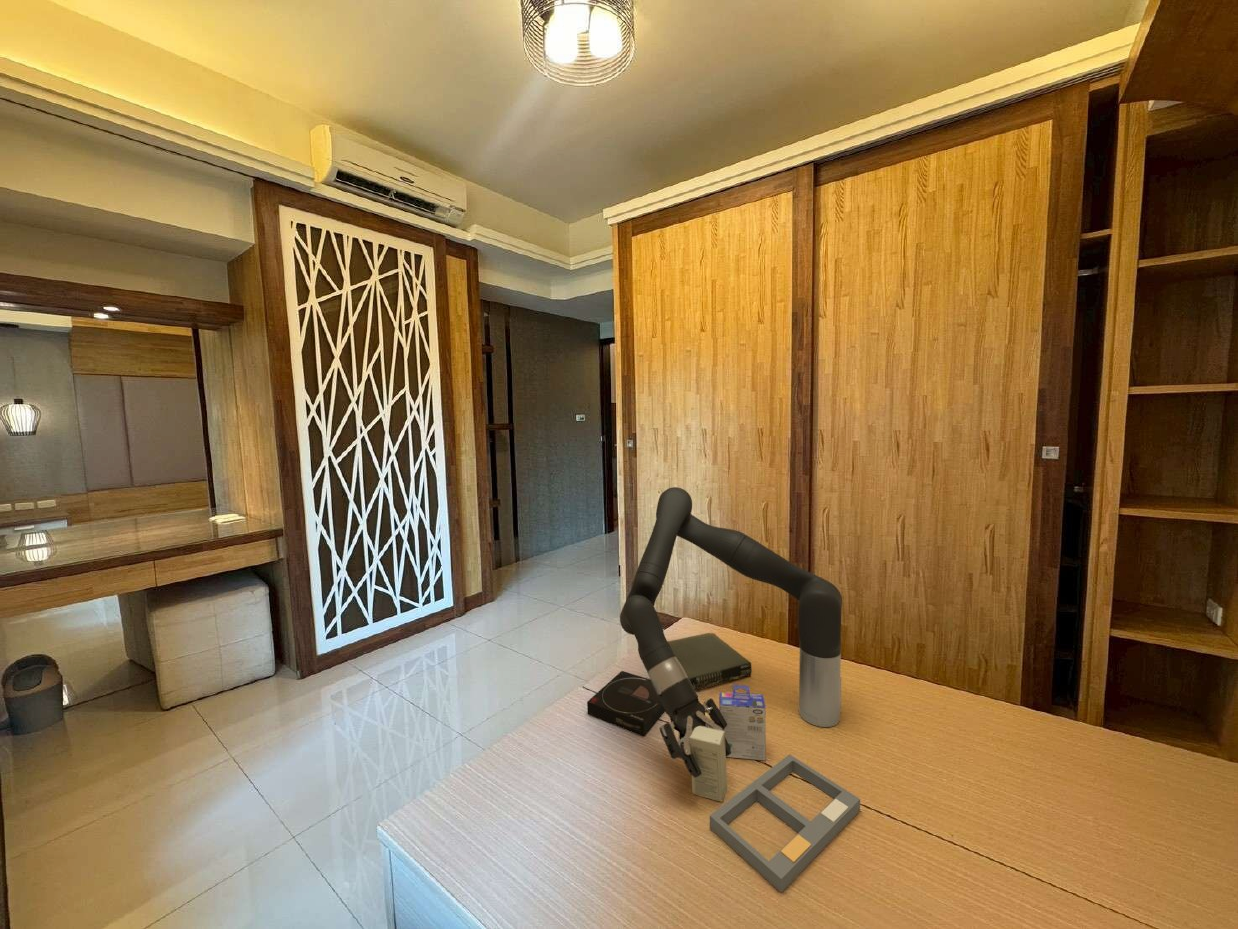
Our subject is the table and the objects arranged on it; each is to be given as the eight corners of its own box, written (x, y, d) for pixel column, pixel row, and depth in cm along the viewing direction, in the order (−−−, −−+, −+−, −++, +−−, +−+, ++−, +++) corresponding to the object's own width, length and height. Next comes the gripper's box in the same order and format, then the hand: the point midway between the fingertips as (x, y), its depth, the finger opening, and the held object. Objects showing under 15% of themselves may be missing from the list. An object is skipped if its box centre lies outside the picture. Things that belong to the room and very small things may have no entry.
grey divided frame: (789, 764, 101) (789, 752, 101) (860, 811, 89) (860, 797, 89) (709, 828, 87) (709, 814, 86) (781, 893, 74) (781, 877, 74)
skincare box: (727, 787, 96) (726, 731, 94) (722, 803, 92) (721, 745, 90) (696, 778, 98) (695, 723, 97) (690, 793, 94) (689, 736, 93)
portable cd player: (676, 700, 125) (675, 685, 125) (644, 738, 111) (643, 722, 111) (623, 682, 134) (623, 669, 134) (587, 716, 120) (587, 701, 120)
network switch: (691, 701, 125) (691, 683, 124) (646, 661, 145) (645, 645, 145) (758, 676, 135) (758, 659, 135) (707, 642, 156) (707, 627, 155)
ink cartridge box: (763, 744, 107) (763, 683, 106) (767, 761, 102) (767, 698, 100) (719, 740, 109) (718, 681, 108) (720, 757, 104) (719, 695, 102)
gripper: (687, 679, 108) (727, 754, 100) (638, 703, 99) (677, 787, 91) (704, 666, 103) (747, 744, 95) (654, 691, 94) (697, 779, 87)
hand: (713, 765), depth 93 cm, fingers open, 8 cm apart
